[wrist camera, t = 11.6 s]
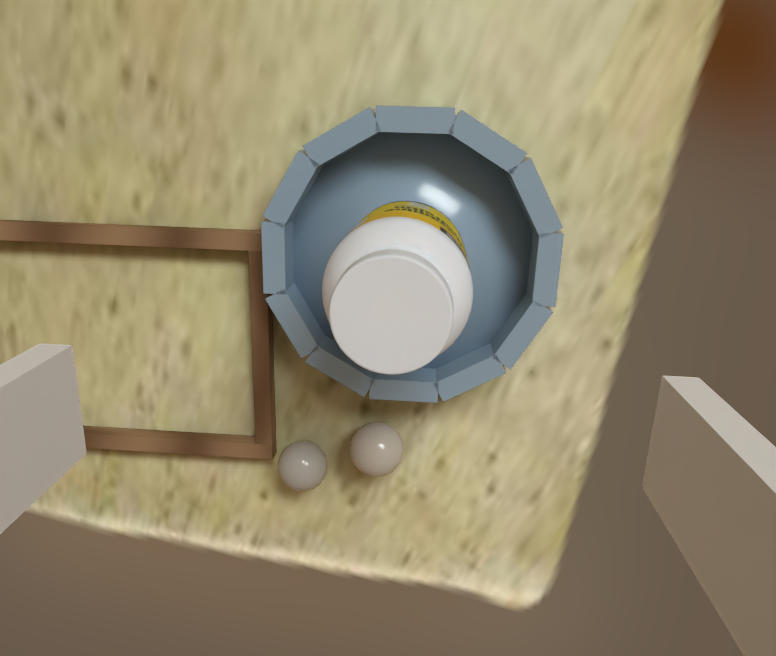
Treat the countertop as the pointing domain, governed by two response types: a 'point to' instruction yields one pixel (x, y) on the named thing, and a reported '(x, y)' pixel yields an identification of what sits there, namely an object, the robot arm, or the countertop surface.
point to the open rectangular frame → (260, 327)
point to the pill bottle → (398, 288)
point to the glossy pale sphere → (302, 465)
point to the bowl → (443, 192)
